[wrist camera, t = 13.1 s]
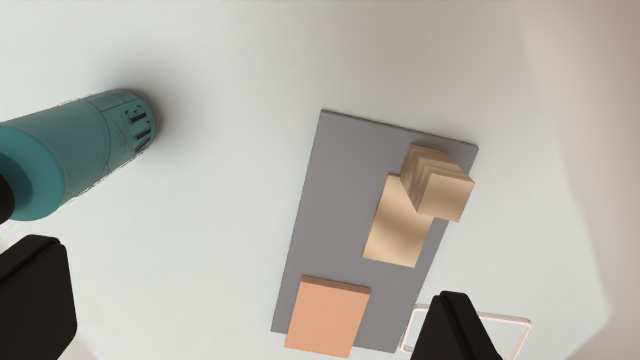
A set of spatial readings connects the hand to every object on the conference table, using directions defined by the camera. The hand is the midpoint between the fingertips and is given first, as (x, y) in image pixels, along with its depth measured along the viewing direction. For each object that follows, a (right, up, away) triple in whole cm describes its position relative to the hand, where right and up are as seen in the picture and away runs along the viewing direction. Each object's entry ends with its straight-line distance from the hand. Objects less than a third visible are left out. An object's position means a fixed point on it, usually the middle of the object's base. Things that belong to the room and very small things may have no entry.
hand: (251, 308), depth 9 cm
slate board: (+7, -4, +32) cm, 33 cm away
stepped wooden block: (+11, 0, +29) cm, 31 cm away
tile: (+4, -9, +32) cm, 34 cm away
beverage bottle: (-17, +10, +27) cm, 33 cm away
